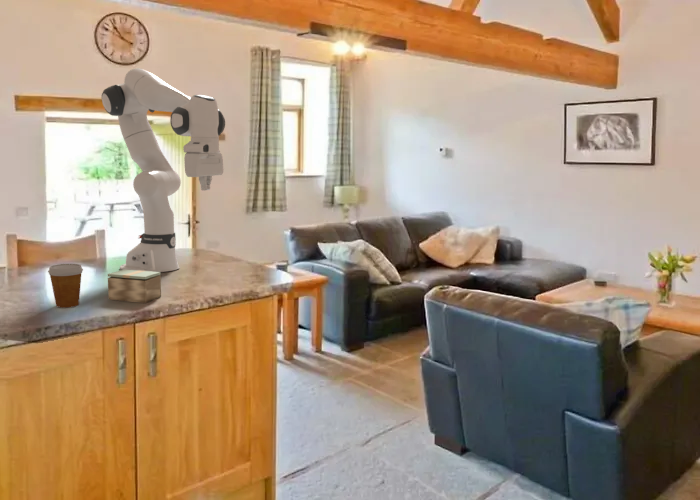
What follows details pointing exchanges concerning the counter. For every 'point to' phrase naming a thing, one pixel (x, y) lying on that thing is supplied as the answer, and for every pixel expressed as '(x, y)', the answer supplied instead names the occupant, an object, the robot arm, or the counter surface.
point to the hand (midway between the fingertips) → (205, 190)
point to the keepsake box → (134, 289)
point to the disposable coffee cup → (66, 284)
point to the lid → (134, 274)
